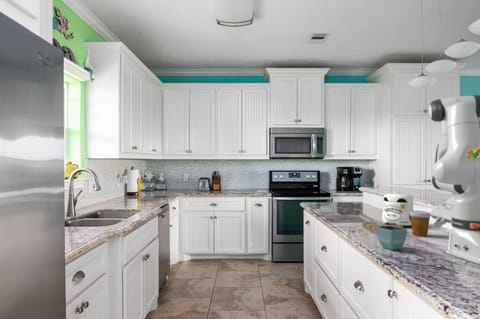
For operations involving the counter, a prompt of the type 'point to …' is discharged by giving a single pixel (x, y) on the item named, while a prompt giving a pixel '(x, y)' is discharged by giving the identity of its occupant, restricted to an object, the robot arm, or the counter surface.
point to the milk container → (397, 209)
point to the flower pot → (391, 236)
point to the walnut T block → (374, 226)
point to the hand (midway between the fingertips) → (435, 226)
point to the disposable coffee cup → (420, 223)
